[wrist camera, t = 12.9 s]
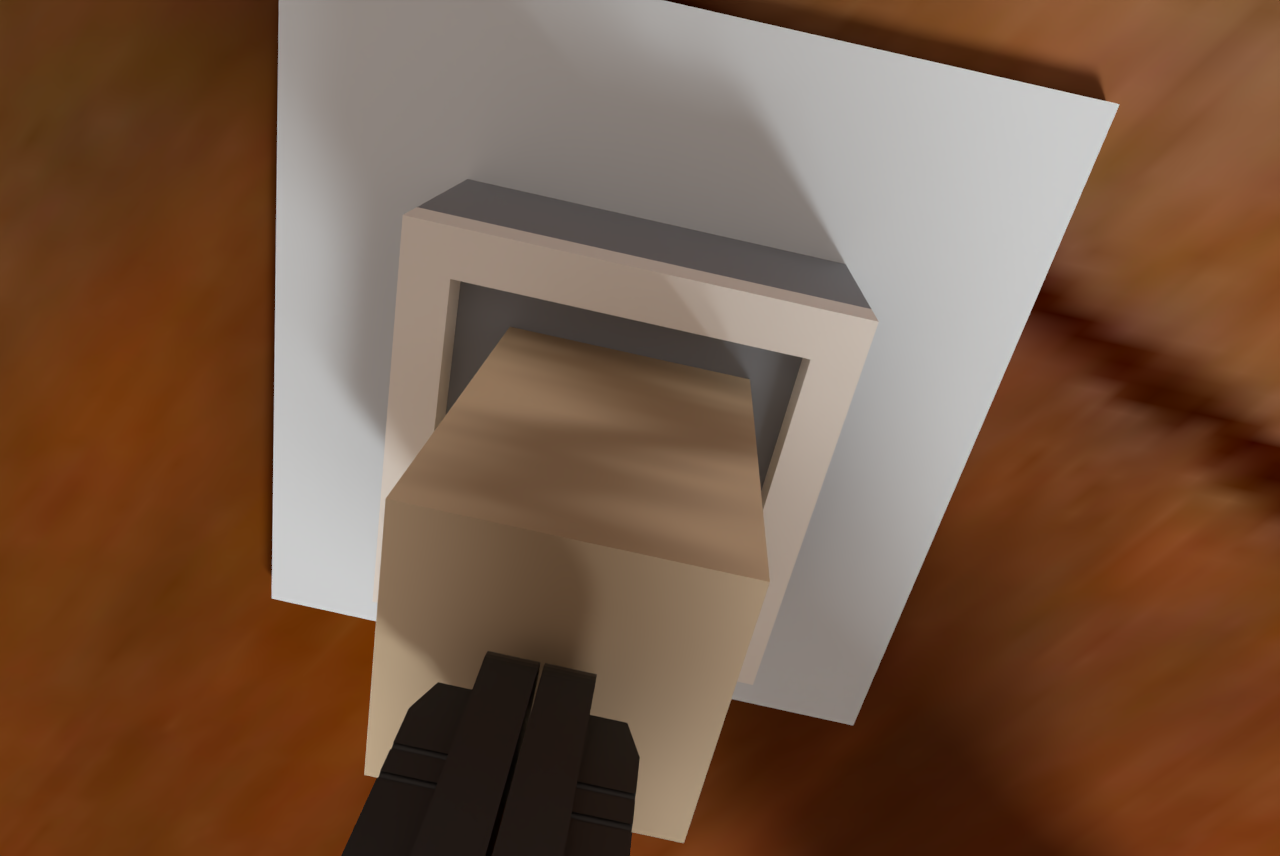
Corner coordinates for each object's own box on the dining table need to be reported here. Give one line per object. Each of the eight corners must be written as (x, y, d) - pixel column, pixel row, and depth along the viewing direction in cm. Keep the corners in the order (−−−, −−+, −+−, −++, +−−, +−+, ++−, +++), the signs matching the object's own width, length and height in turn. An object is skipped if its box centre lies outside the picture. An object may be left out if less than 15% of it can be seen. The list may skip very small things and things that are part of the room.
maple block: (749, 379, 17) (769, 582, 11) (694, 576, 19) (683, 843, 13) (510, 327, 17) (385, 498, 11) (481, 530, 19) (363, 774, 13)
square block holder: (1107, 102, 18) (1238, 123, 13) (850, 711, 26) (878, 853, 21) (293, -84, 18) (148, -126, 13) (281, 586, 26) (187, 703, 21)
